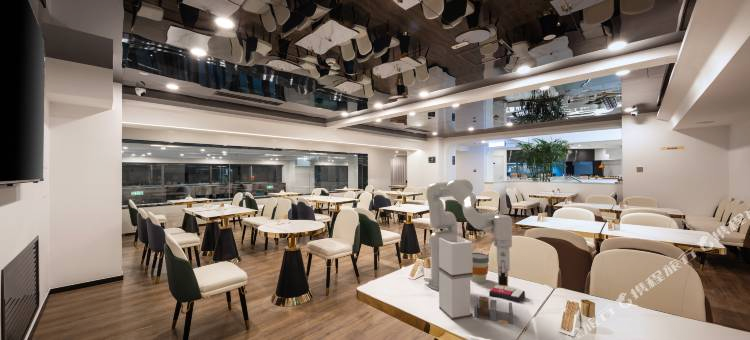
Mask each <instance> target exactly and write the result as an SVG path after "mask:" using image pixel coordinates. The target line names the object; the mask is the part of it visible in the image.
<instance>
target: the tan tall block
mask: <svg viewBox="0 0 750 340" xmlns="http://www.w3.org/2000/svg"><path fill="white" fill-rule="evenodd" d="M500 269H502V268H501V267H500ZM501 271H502V270H501ZM499 275H500V270H499V269H498V268H497V285H499ZM506 276H507V285H506V286H505V285H499V286H505V287H509V271H508V270H507V269H506Z"/></svg>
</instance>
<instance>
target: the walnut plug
mask: <svg viewBox="0 0 750 340" xmlns="http://www.w3.org/2000/svg"><path fill="white" fill-rule="evenodd" d="M489 299H490V298H489V296H488V297H487V296H482V295H479V296H478V308H479V315H483V316H488V315H489V310H490V304H489V303H490V301H489Z"/></svg>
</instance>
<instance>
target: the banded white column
mask: <svg viewBox="0 0 750 340" xmlns="http://www.w3.org/2000/svg"><path fill="white" fill-rule="evenodd" d="M473 253H474V252H473V241H471V240H468V239H466V238H464V237H461V236H459V235H458V236H457V243H454V242H449V241H446V240H444V239H442V238H439V290H438V299H439V300H438V303H439V305H438V306H439V307H438V308H439V310H440V311H442V312H443V313H444V314H445V315H446V316H447V318H449V320H451V321H455V320H460V319H466V318H472V317H473V316H474V313H472V312H471V280H473Z"/></svg>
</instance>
